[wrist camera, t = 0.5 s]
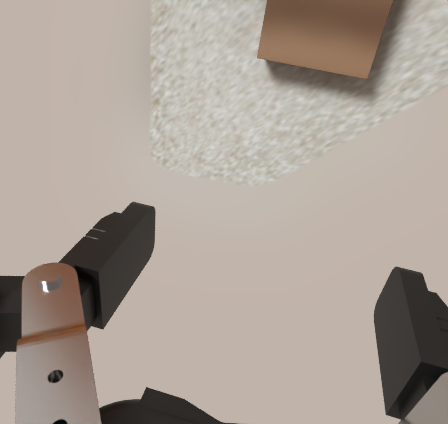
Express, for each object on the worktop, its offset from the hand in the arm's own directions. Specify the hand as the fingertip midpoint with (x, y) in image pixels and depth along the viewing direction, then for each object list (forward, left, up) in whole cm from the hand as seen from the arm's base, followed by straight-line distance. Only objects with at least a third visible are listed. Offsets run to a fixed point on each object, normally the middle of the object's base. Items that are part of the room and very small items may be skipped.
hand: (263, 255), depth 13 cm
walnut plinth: (-7, 0, -26) cm, 27 cm away
